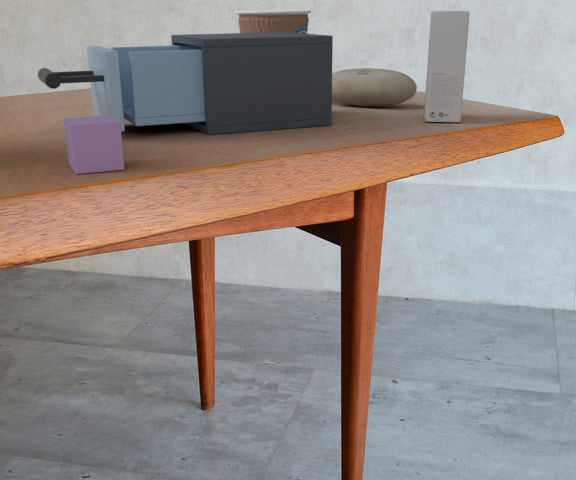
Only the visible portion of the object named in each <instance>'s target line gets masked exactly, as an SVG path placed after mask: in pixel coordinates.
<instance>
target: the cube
mask: <svg viewBox="0 0 576 480" xmlns="http://www.w3.org/2000/svg"><path fill="white" fill-rule="evenodd" d="M63 125H64V135H65V143H66V151H67V159H68V166H69V167H70V168H71V169H72V171H73V172H74V174H76V175H82V174H84V175H85V174H93V173H95V174H96V173H105V172H106V173H107V172H115V171H116V170H117V171H125V169H126V168H125V158H124V147H123V137H122V131H121V123H120V121H118V120H117V119H115V118H114V117H112V116H111V115H110V116H94V115H93V116H81V117H65V118H63ZM117 171H116V172H117Z"/></svg>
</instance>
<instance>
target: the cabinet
mask: <svg viewBox="0 0 576 480" xmlns="http://www.w3.org/2000/svg"><path fill="white" fill-rule="evenodd" d="M170 37H171V38H170V39H171V46H172V45H193V46H199V47H202V58H203V79H204V100H205V122H191V123H185V124H186V125H187V126H190V127H192V128H194V129H196V130H198V131H200V132H202V133H203V134H206V135H208V136H211V135H222V134H224V135H225V134H235V133H248V132H249V133H250V132H261V131H274V130H286V129H298V128H299V129H301V128H313V127H314V128H315V127H325V126H332V116H333V115H332V114H333V112H332V111H333V108H332V107H333V101H332V100H333V99H332V74H333V40H334V37H333V35H330V34H329V35H327V34H315V33H307V34H305V33H292V32H268V33H240V32H236V33H235V32H234V33H233V32H232V33H231V32H229V33H197V34H196V33H195V34H194V33H192V34H171V35H170Z"/></svg>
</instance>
